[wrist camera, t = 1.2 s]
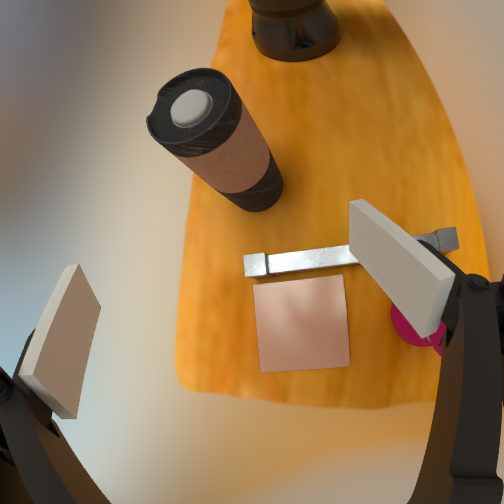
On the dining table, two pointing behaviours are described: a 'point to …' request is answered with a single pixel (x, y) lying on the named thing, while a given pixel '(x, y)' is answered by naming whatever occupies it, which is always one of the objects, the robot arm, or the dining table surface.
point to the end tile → (302, 324)
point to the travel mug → (216, 138)
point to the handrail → (330, 256)
